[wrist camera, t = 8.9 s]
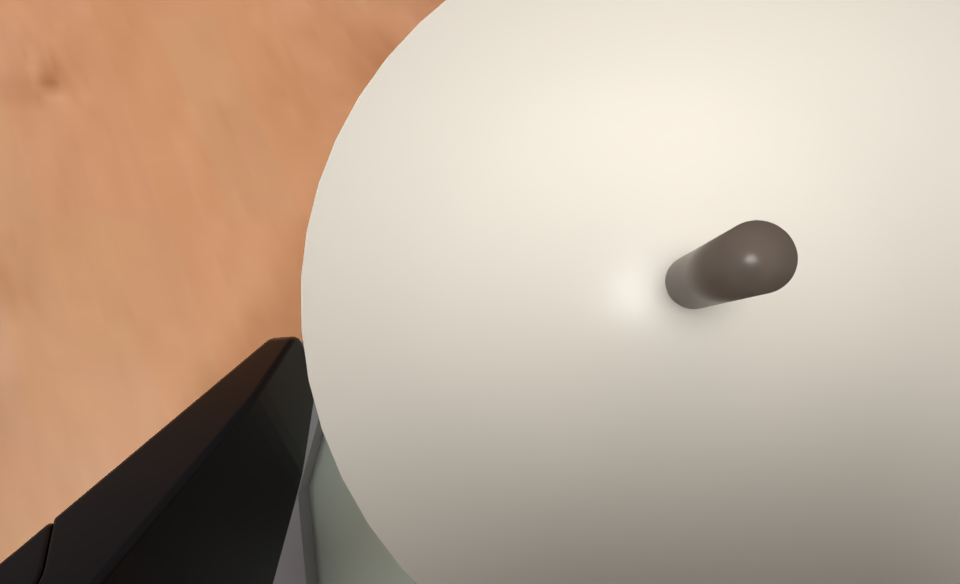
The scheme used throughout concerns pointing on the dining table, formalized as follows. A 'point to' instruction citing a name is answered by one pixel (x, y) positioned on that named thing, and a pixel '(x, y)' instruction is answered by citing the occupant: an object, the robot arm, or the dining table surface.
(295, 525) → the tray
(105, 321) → the dining table surface
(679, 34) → the candle
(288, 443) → the robot arm
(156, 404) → the dining table surface
